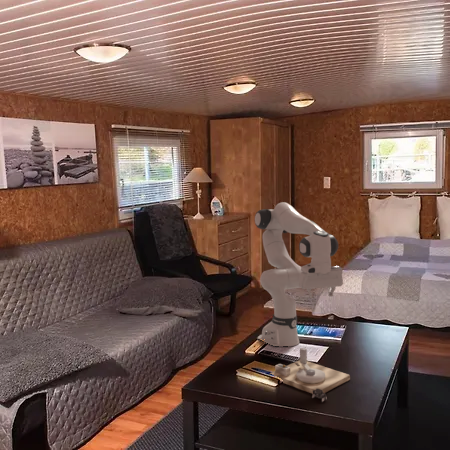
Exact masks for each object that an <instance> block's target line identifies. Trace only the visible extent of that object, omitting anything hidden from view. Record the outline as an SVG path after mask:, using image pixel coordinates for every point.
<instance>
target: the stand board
mask: <svg viewBox="0 0 450 450" xmlns="http://www.w3.org/2000/svg"><path fill="white" fill-rule="evenodd" d="M307 365H308V366H309V367H310V368H313V369H318V370H321V371H323V372H324V373H325V380H324V381H323V382H320V383H313V384H311V383H304V382H301V381H299V380H298V379H297V377H296V373H297V371H299V370H301V369H304V368H303V366H302V365H301V363H300V359H298V360H297V361H294V362H292V363H290V364H288V365H285V364H282V363H278V364H276V365H275V366H274V367H275V368H274V371H272V372H270V373H269V375H270V374H272V375H274V376H277V377H279V378H281V379H282V380H283V384H286V385H288V386H291V387H293V388H295V389H298V390H301V391H304V392H307V393H308V394H309V393H310V394H313V390H316V389H321V390H322V391H323V393H325V394H326V393H327V392H329V391H331V390H333V389H334V388H336V387H338V386H341V385H343V384H344V383H346V382H348V381H350V380H351V375H350V374H349V373H345V372H342V371H339V370H335V369H333V368H329V367H325V366H324V365H321V364H316V363H315V362H312V361H308V360H307Z"/></svg>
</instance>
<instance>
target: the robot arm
mask: <svg viewBox="0 0 450 450" xmlns="http://www.w3.org/2000/svg"><path fill="white" fill-rule="evenodd" d="M254 224H255V226H256V228H258V229H260V230H265V231H264V232H263V233H262V245H263V250H264V252H265V255H266V259H267V261H268V264H269V265H271V267H272V266H273V267H275V268H271V269H267V270H264V271H263V272H261V275H260V277H259V282H260V285H261V287H262V288H263V289H264V290H265V291H267V293H269V294H270V296H271V298H272V300H273V311H274V314H272V315H270V319H272V320H271V321H270V322H268V323H267V324H266V325H265V326H264V327H263V328H262V331H261V334H259V336H257V340H258V339H262V340H264V339H265V340H264V341H265V342H266V343H265V342H264V343H265V344H267V343H268V344H267V345H269V344H270V345H269V346H271V345H273V346H279V347H283V346H288V347H293V346H297V345H299V344H300V339H299V335H298V328H297V324H298V316H297V302H296V300H295V298H294V297H293V296H290V295H288V294H286V290H293V289H301V290H306V291H307V293H308V296H309V298H310V299H314V298H315V297H314V294H313V293H312V289H313V290H314V289H322V288H323V289H324V288H326V289H327V288H330V289H331V290H330V291H329V292H328V293H327V294H328V297H334V292H335V291H336V287H337V288H338V287H342V286H343V285H344V281H343V280H344V279H343V268H342V267H341V266H339V265H336V266H334V265H333V266H332V258H331V257H333V256H335V254H336V253H337V252H338V249H339V242H338V239H337V238H336V237H335V236H334V235H332V234H330V233H329V232H327V231H325V230H324V229H323V228H321V226H319V225H318V224H317V223H315V222H314V221H313V220H311V219H309V218H307V217H305V216H303V215H302V214H301V213H300V212H298V211H297V210H296V209H295V207H293V206H292V205H291V204H289V203H288V202H285V201H284V202H283V201H282V202H279V203H277V204H276V205H275V207H274V209H272V208H271V209H268V208H267V209H266V208H265V209H259V210H257V211H256V213H255V215H254ZM287 233H289V234H294V235H295V234H297V235H298V234H299V235H308V236H304V237H303V238H301V240H300V241H299V246H298V248H299V252H300V254H301V255H302V256H303V257H305V258H311V260H310V263H307V264H305V265H302V266H300V265H299V264H297V262H295V261H294V259H292V258H291V256H290V255H289V252H288V250H287V247H286V244H285V241H284V239H283V234H287ZM273 346H272V347H273Z"/></svg>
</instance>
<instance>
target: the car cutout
mask: <svg viewBox="0 0 450 450" xmlns="http://www.w3.org/2000/svg"><path fill="white" fill-rule="evenodd" d="M311 394H312V393H311ZM311 398H312V399H314V398H316V399H319V400H321V403H323V402H325V401H327V395H326V393H323V391H322V390H321V389H316V390H313V394H312V396H311Z"/></svg>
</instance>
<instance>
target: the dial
mask: <svg viewBox="0 0 450 450" xmlns="http://www.w3.org/2000/svg"><path fill="white" fill-rule="evenodd" d="M307 352H308V349H307V348H306V347H301V348H300V349H299V360H300V363H301V365H302V366H303V368H304V369H301V370H299V371H297V373H296V377H297V379H298V380H299V381H301V382H304V383H311V384H313V383H320V382H323V381H324V380H325V373H324V372H323V371H321V370H318V369H313V368H310V367H309V366H308V365H307V361H308V353H307Z"/></svg>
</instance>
